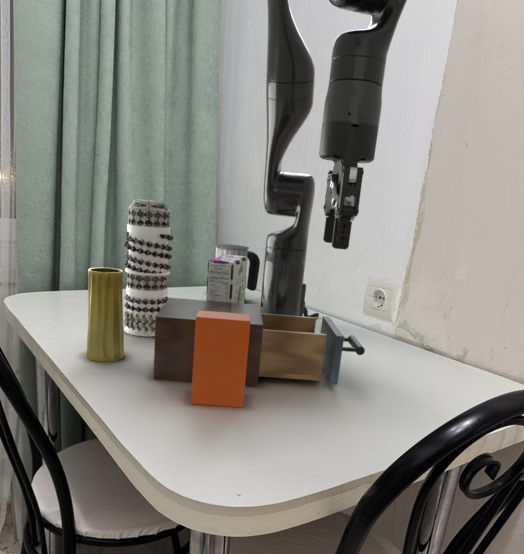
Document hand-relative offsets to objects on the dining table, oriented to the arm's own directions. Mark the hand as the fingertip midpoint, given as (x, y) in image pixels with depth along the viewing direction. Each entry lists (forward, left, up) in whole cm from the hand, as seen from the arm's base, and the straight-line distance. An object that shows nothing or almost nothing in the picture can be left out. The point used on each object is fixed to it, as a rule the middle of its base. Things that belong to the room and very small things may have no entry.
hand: (334, 245), depth 72 cm
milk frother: (-19, -66, -22) cm, 72 cm away
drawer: (-1, -6, -21) cm, 22 cm away
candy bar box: (+3, -25, -22) cm, 34 cm away
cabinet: (+12, -13, -22) cm, 28 cm away
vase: (+26, -23, -22) cm, 41 cm away
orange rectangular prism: (+17, 0, -22) cm, 28 cm away
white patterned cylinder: (+14, -37, -22) cm, 45 cm away
